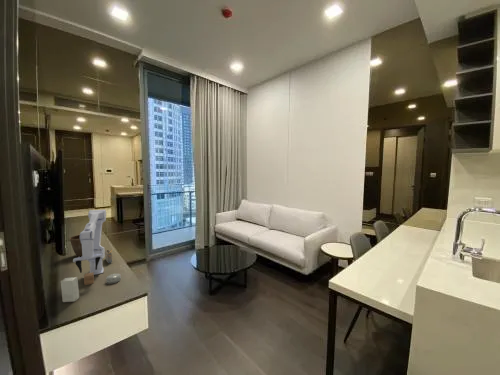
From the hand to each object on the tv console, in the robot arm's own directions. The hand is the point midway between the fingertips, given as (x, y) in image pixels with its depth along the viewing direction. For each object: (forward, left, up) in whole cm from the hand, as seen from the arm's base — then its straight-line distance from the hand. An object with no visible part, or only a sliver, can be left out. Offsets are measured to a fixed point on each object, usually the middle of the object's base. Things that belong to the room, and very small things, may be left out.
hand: (88, 270), depth 136 cm
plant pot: (-61, -9, -8) cm, 62 cm away
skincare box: (+18, -7, -8) cm, 21 cm away
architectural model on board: (-34, +10, -9) cm, 37 cm away
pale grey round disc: (+5, +13, -8) cm, 16 cm away
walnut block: (0, 0, -8) cm, 8 cm away
